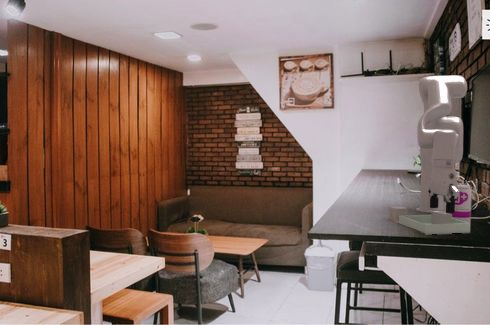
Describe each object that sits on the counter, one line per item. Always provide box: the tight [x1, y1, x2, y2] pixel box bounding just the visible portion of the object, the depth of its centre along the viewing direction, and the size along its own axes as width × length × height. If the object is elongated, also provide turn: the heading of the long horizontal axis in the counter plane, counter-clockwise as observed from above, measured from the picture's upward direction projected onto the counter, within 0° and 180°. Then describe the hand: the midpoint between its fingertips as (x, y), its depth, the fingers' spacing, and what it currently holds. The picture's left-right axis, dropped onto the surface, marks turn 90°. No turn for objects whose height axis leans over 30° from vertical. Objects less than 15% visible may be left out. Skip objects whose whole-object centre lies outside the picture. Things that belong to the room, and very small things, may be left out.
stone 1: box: [388, 205, 409, 222], centre depth 180 cm, size 5×5×5 cm
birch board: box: [384, 217, 399, 224], centre depth 181 cm, size 15×9×1 cm, turn 101°
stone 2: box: [431, 212, 452, 224], centre depth 167 cm, size 5×5×5 cm
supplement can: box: [449, 183, 472, 224], centre depth 175 cm, size 8×8×15 cm
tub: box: [398, 214, 471, 236], centre depth 166 cm, size 17×18×4 cm
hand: (441, 210), depth 167 cm, fingers open, 9 cm apart
